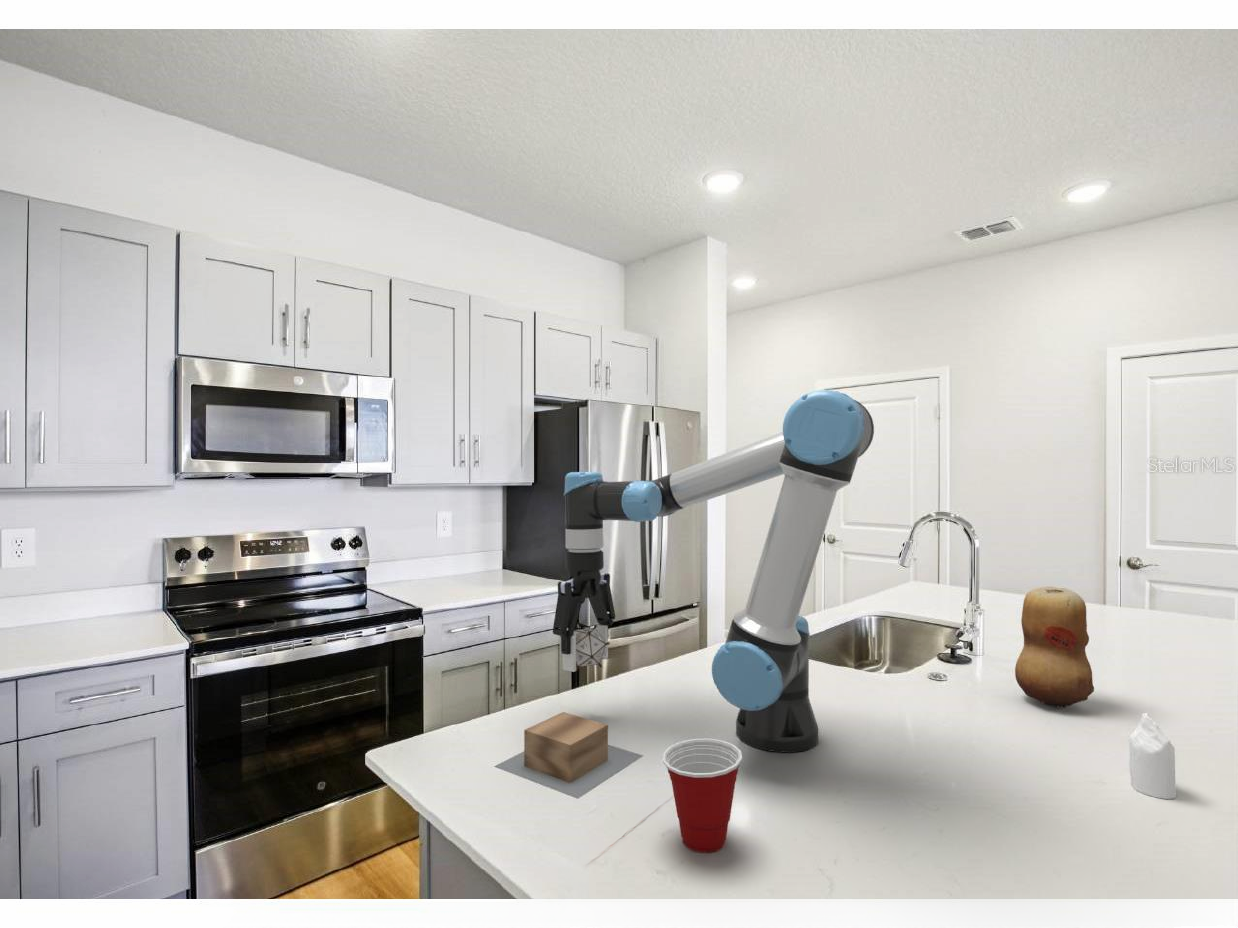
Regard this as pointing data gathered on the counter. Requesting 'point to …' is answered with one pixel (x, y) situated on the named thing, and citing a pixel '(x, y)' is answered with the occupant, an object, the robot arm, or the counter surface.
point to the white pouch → (1152, 760)
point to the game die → (589, 647)
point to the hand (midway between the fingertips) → (586, 663)
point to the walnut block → (566, 746)
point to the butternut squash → (1054, 648)
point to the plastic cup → (703, 789)
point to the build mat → (583, 784)
